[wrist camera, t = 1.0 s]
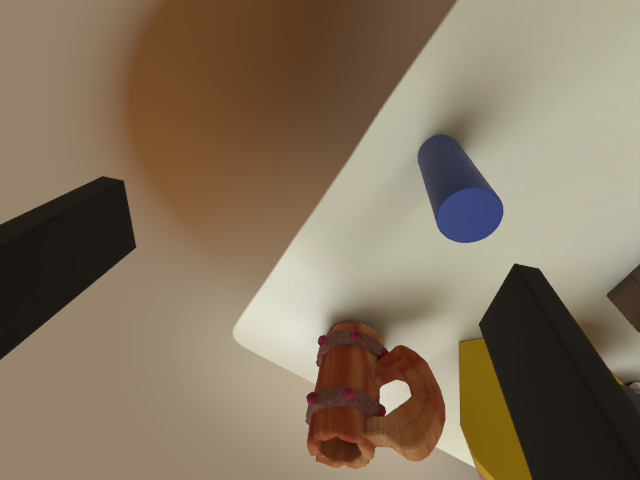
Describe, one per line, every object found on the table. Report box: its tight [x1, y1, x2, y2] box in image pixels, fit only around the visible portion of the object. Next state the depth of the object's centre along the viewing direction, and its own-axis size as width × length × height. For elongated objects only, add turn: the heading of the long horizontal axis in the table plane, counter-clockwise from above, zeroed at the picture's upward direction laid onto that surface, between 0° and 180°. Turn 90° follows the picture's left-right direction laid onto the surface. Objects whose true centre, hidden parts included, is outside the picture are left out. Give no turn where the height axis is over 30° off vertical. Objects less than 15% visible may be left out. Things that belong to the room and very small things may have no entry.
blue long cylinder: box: [418, 135, 503, 243], centre depth 24 cm, size 4×4×12 cm
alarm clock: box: [459, 338, 624, 480], centre depth 32 cm, size 15×8×18 cm, turn 113°
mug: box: [306, 321, 445, 469], centre depth 35 cm, size 15×8×15 cm, turn 117°
